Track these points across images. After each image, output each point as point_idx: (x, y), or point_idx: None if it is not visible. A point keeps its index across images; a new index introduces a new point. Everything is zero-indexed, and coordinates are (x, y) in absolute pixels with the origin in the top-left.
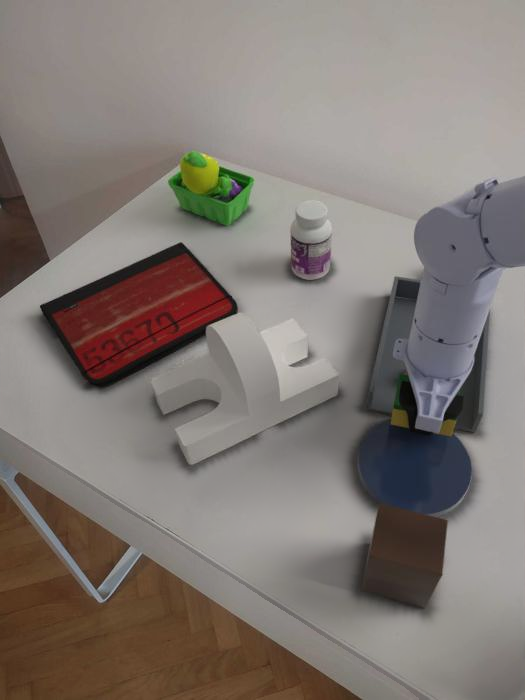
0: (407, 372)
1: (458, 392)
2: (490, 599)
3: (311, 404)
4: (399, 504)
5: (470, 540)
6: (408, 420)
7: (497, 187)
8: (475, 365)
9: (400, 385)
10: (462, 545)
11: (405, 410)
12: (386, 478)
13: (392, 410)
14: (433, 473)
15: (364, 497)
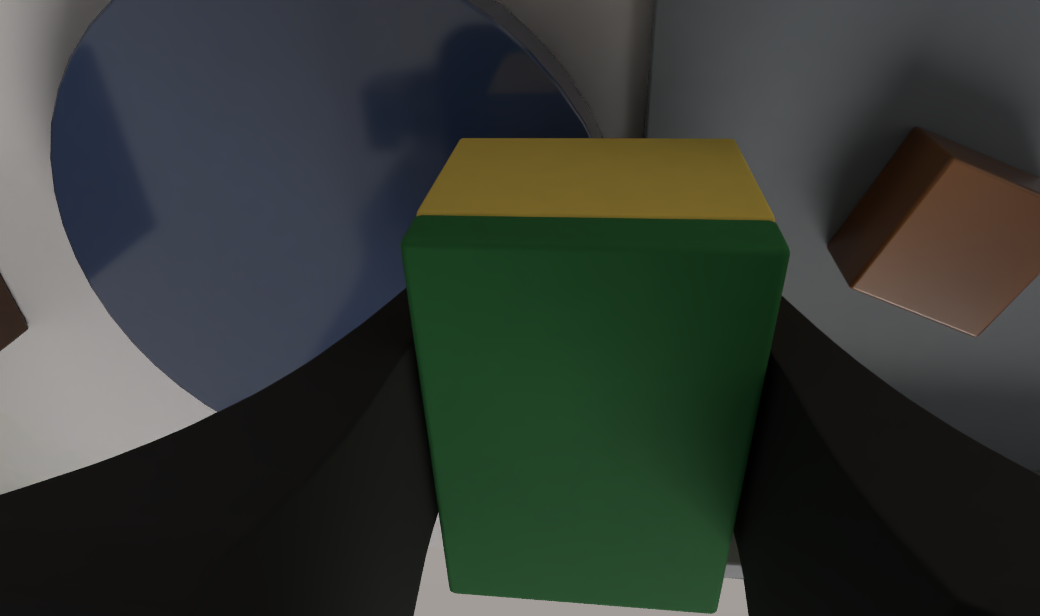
0: (975, 178)
1: (641, 605)
2: (41, 470)
3: None
4: (83, 224)
5: (174, 430)
6: (366, 320)
7: None
8: (1032, 466)
9: (178, 548)
10: (142, 410)
11: (196, 424)
12: (169, 146)
13: (671, 95)
14: (313, 344)
15: (82, 31)
